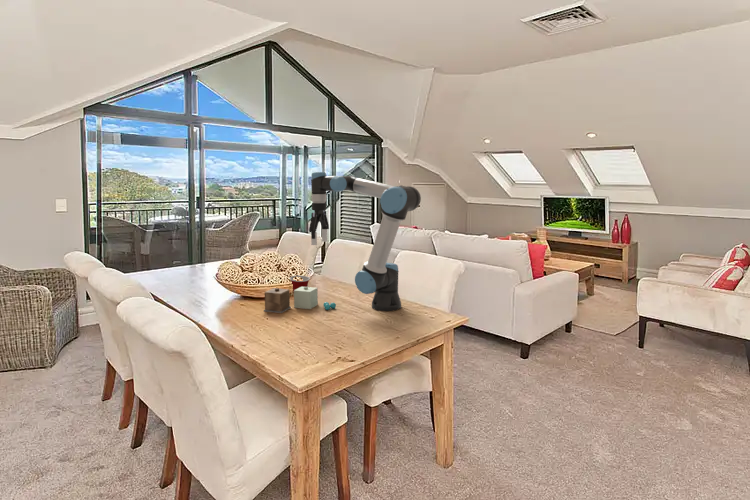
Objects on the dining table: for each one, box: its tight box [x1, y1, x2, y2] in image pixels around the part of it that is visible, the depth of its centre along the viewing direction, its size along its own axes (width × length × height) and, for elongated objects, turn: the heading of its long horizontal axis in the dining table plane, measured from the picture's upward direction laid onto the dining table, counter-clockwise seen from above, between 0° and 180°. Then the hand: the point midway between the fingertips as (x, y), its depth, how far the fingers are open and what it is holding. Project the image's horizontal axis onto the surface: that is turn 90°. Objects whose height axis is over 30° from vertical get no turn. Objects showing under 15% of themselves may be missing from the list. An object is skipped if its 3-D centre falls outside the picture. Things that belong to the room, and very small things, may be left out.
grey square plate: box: [263, 305, 292, 314], centre depth 239 cm, size 10×10×1 cm
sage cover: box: [293, 286, 319, 310], centre depth 245 cm, size 9×9×10 cm
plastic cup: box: [289, 275, 311, 294], centre depth 258 cm, size 11×11×12 cm
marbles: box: [323, 301, 337, 311], centre depth 242 cm, size 18×6×3 cm, turn 73°
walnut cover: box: [264, 287, 291, 311], centre depth 238 cm, size 9×9×10 cm
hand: (319, 243), depth 248 cm, fingers open, 13 cm apart
